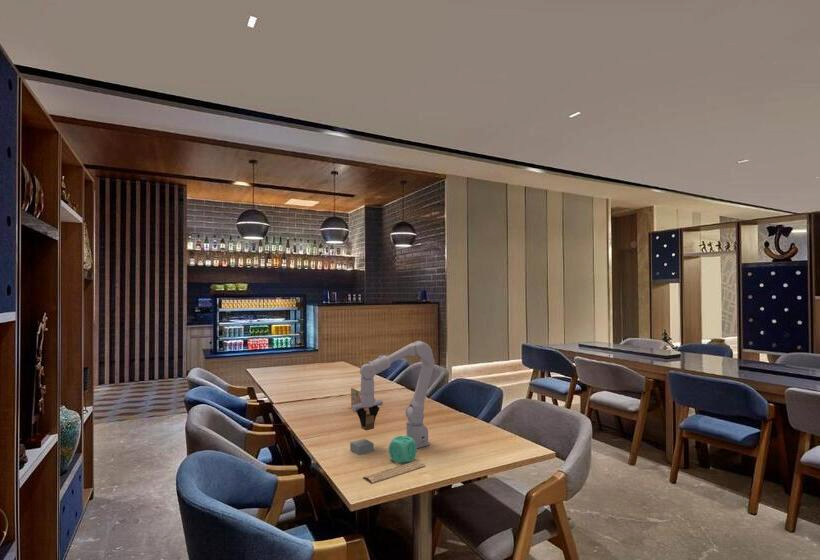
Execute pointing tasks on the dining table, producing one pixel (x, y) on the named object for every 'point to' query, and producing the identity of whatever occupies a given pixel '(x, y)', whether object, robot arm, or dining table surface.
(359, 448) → the pedestal block
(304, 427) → the dining table surface
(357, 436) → the dining table surface
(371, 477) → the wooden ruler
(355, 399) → the stack of blocks
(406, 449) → the decorative dice
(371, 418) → the walnut block
